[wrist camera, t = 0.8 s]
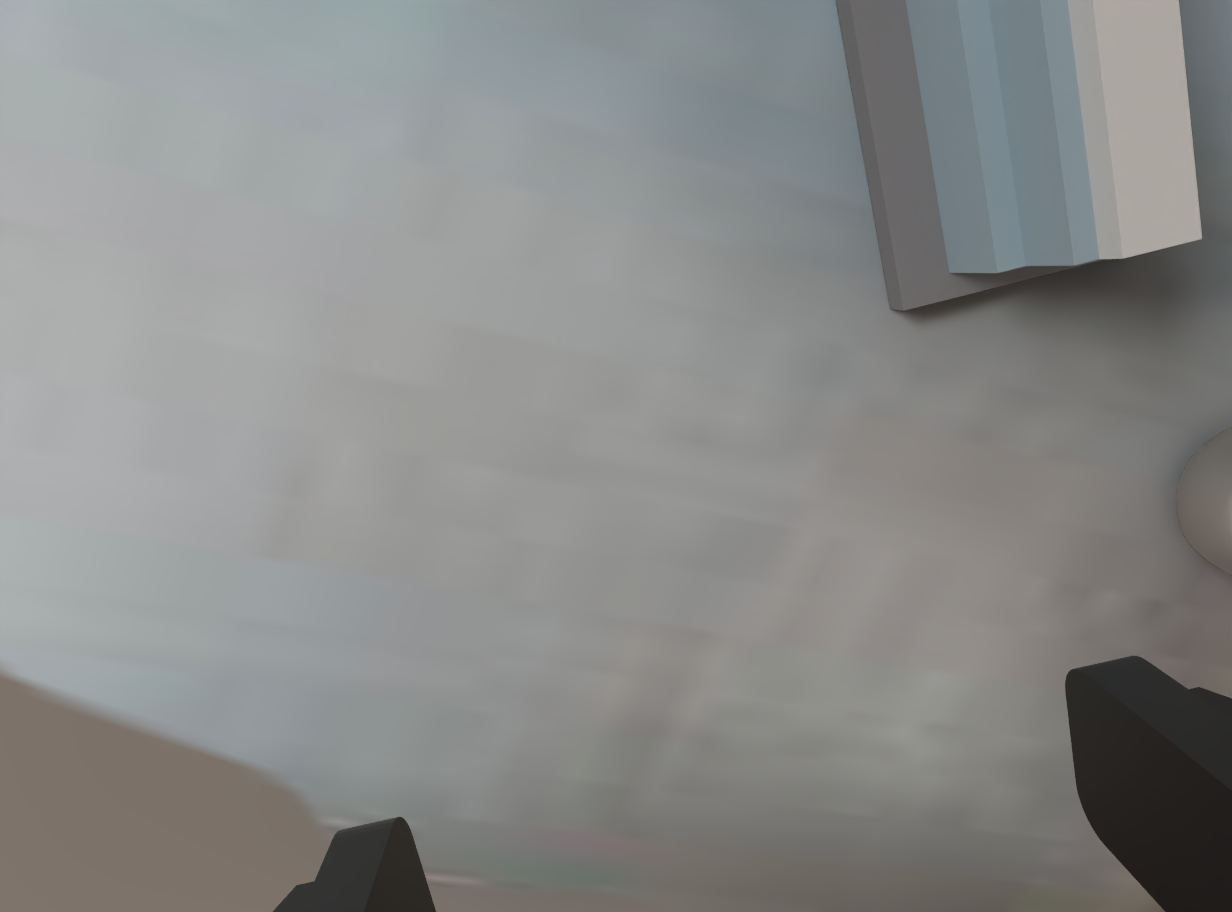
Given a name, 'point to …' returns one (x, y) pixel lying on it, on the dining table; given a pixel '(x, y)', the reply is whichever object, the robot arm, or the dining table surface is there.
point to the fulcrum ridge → (1019, 137)
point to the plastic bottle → (1208, 501)
